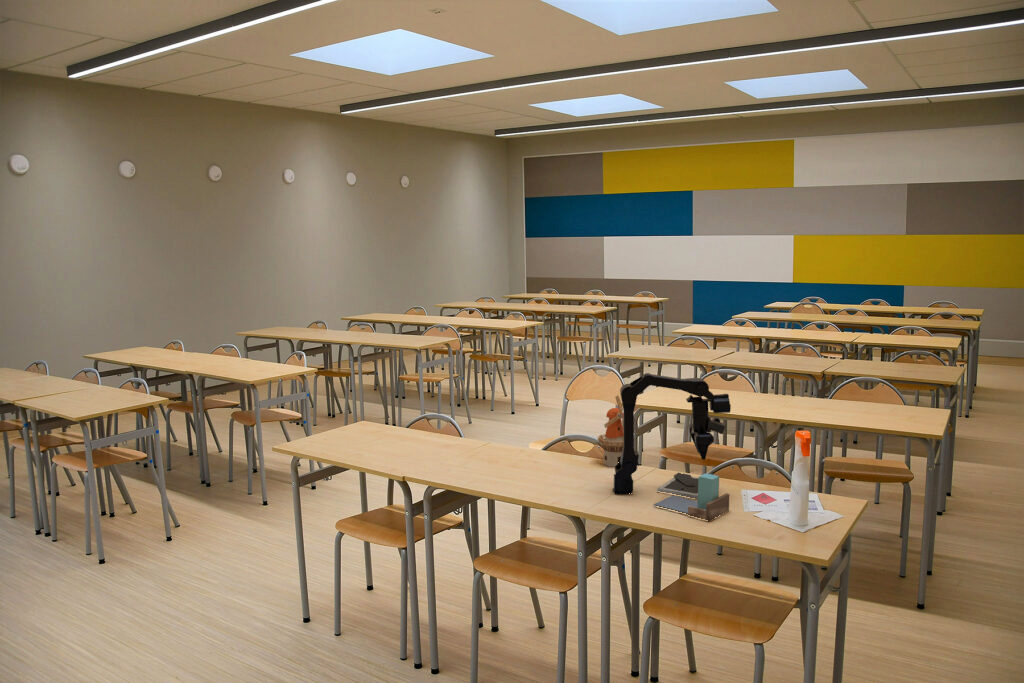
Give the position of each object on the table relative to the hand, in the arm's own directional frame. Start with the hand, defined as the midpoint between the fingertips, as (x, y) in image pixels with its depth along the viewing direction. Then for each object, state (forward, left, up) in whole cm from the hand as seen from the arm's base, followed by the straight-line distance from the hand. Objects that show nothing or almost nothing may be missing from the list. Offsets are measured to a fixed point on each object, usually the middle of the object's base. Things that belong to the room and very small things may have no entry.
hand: (701, 456), depth 280 cm
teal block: (-2, -20, -14) cm, 25 cm away
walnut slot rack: (-2, -20, -14) cm, 25 cm away
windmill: (-28, +37, -15) cm, 48 cm away
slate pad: (-10, -13, -14) cm, 22 cm away
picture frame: (-3, +7, -15) cm, 17 cm away
